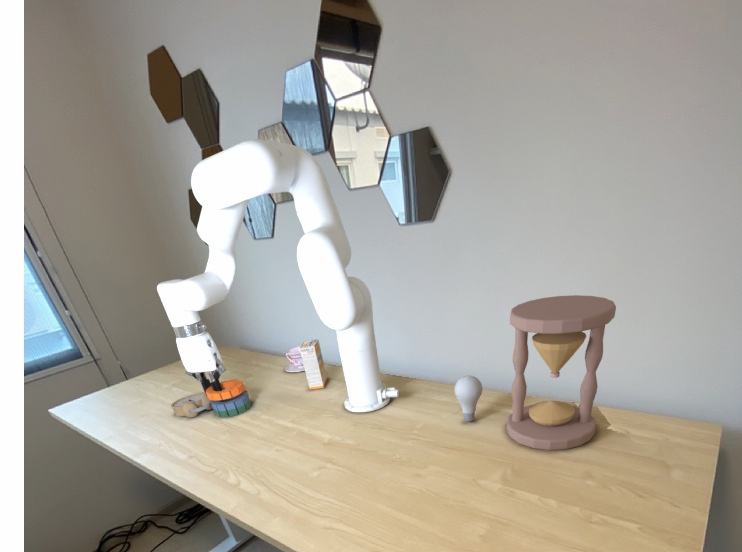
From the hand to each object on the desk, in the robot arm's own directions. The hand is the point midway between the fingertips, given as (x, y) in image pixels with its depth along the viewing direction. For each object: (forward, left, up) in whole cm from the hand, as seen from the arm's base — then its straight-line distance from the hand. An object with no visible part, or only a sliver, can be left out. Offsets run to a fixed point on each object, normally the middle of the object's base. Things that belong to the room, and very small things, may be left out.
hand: (214, 393), depth 121 cm
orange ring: (-4, 0, 0) cm, 4 cm away
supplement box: (-26, -16, -6) cm, 31 cm away
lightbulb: (-74, +13, -6) cm, 76 cm away
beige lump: (+9, 0, -6) cm, 10 cm away
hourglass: (-91, +18, -6) cm, 93 cm away
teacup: (-13, -34, -6) cm, 37 cm away
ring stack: (-4, 0, -5) cm, 7 cm away
